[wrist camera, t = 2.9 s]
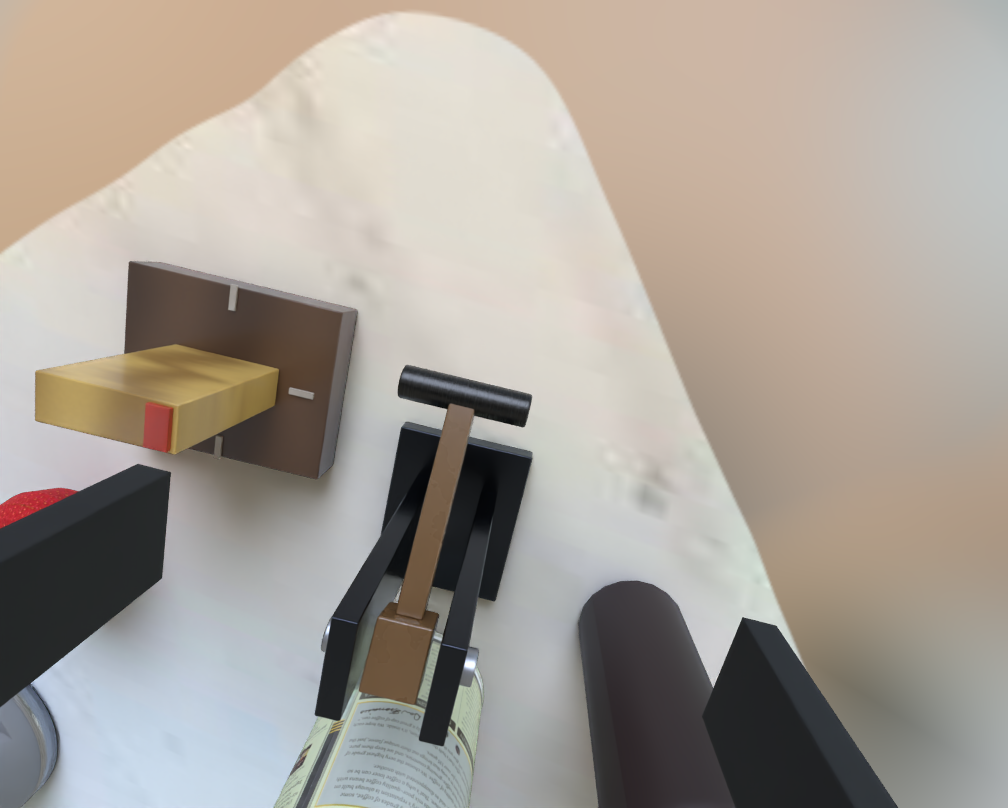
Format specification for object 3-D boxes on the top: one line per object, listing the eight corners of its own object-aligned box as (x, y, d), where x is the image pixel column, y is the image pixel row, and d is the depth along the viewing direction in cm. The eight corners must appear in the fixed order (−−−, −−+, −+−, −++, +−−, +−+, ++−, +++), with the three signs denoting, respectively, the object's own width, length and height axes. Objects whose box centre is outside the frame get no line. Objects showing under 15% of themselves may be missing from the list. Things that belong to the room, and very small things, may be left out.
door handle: (411, 370, 24) (402, 358, 21) (530, 398, 24) (534, 390, 21) (333, 659, 22) (314, 682, 19) (461, 690, 22) (458, 717, 19)
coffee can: (477, 757, 38) (443, 1028, 24) (337, 735, 38) (226, 991, 25) (494, 635, 35) (466, 860, 22) (344, 613, 36) (224, 822, 22)
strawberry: (71, 551, 36) (-101, 653, 26) (72, 449, 34) (-113, 518, 24) (155, 571, 36) (13, 679, 26) (160, 470, 34) (10, 547, 24)
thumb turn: (172, 381, 30) (28, 423, 21) (175, 343, 29) (28, 371, 21) (275, 405, 30) (170, 457, 21) (279, 368, 29) (174, 406, 21)
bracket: (406, 420, 32) (299, 537, 18) (532, 451, 32) (528, 592, 18) (378, 562, 35) (266, 764, 20) (496, 591, 35) (467, 813, 20)
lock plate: (149, 422, 33) (117, 434, 31) (160, 260, 31) (126, 259, 28) (333, 466, 33) (315, 482, 31) (358, 307, 31) (342, 310, 28)
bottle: (700, 640, 35) (908, 1107, 15) (609, 682, 36) (693, 1164, 16) (651, 560, 33) (807, 952, 14) (558, 606, 35) (584, 1026, 15)
